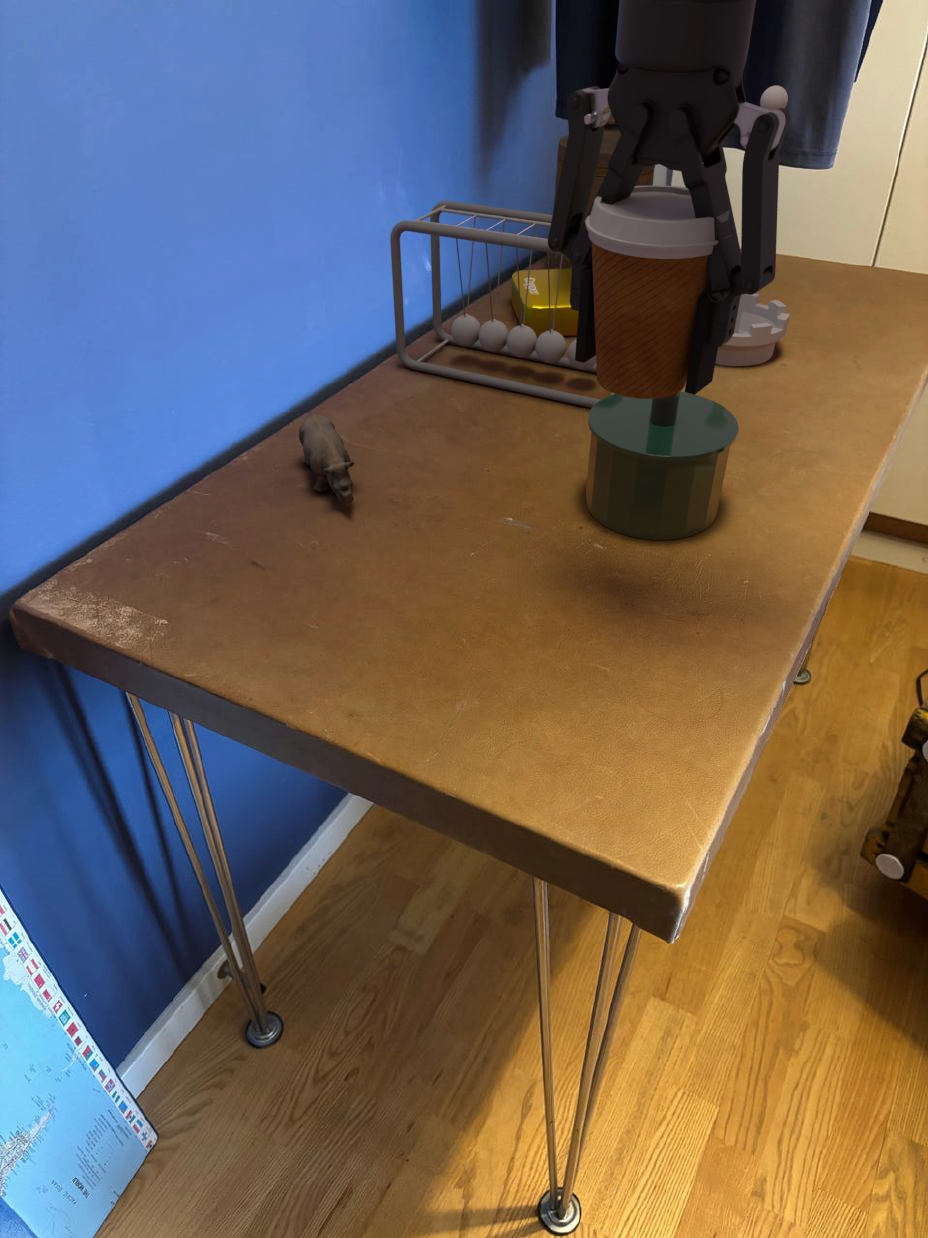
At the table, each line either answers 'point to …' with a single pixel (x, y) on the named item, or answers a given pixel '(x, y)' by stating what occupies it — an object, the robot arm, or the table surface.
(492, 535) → the table surface
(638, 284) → the disposable coffee cup
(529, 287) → the element tile
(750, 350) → the flag stand
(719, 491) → the pot
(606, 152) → the wooden container
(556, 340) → the newton's cradle
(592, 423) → the pot lid
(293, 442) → the table surface
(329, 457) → the rhino figurine
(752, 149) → the robot arm
